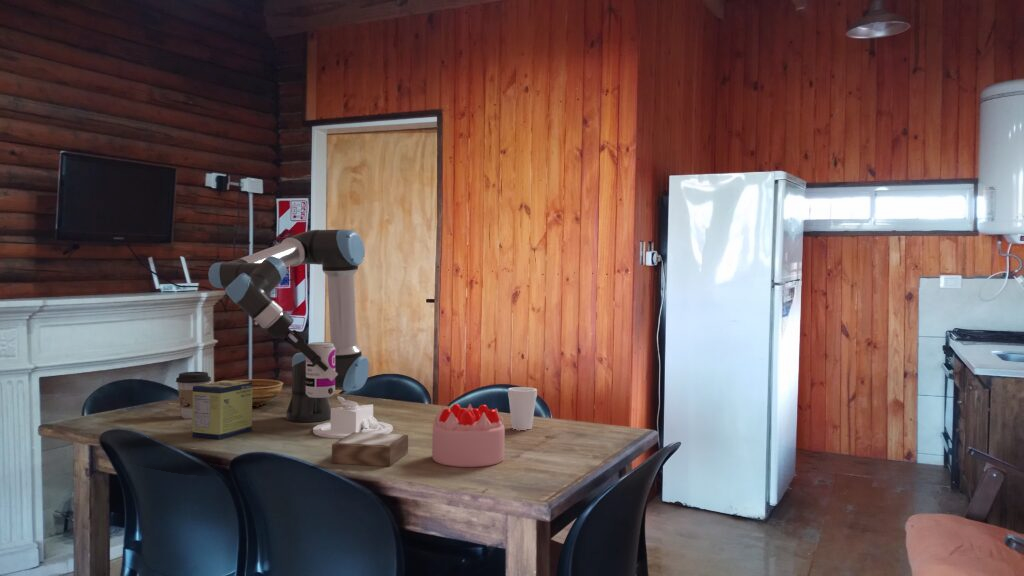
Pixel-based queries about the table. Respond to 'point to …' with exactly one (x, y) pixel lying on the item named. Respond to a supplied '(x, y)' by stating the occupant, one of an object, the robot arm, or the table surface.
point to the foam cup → (522, 406)
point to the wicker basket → (263, 390)
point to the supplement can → (315, 378)
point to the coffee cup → (189, 390)
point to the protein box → (222, 409)
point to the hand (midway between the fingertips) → (332, 375)
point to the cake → (468, 437)
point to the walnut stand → (370, 449)
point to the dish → (351, 421)
